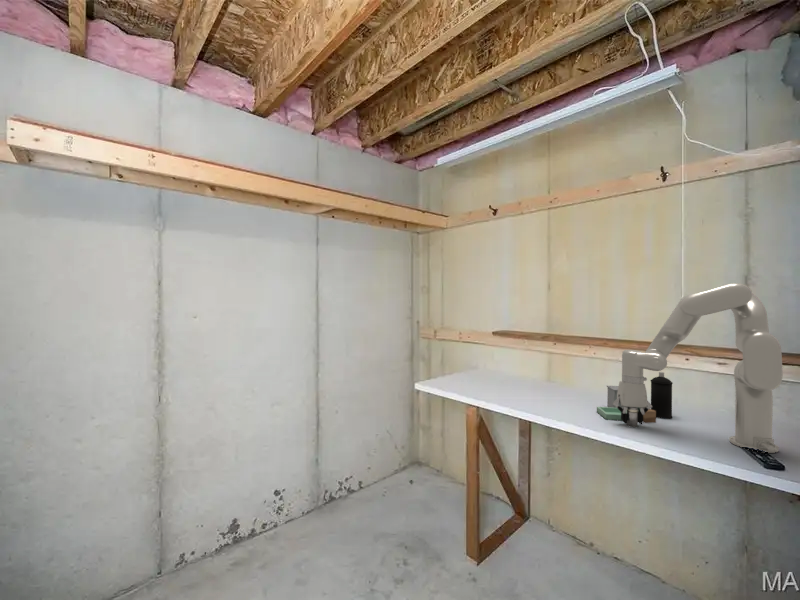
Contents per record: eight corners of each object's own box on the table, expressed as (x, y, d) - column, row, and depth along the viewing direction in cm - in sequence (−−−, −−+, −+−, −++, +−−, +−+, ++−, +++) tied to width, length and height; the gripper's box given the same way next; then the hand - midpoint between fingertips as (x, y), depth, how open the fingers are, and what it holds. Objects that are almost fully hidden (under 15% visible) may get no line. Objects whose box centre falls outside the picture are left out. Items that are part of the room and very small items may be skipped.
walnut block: (655, 422, 151) (655, 411, 151) (645, 422, 150) (645, 411, 150) (646, 418, 156) (646, 407, 156) (636, 419, 155) (636, 407, 155)
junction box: (647, 414, 161) (648, 391, 161) (613, 412, 164) (614, 389, 164) (638, 408, 170) (638, 386, 170) (606, 406, 172) (606, 385, 172)
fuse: (639, 427, 144) (640, 407, 144) (628, 427, 145) (629, 406, 145) (635, 424, 148) (635, 404, 148) (624, 423, 149) (624, 403, 149)
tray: (633, 421, 152) (633, 415, 152) (606, 419, 154) (606, 414, 154) (622, 413, 163) (622, 408, 163) (596, 411, 164) (596, 406, 164)
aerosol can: (676, 419, 154) (676, 374, 154) (655, 418, 156) (656, 373, 156) (666, 413, 162) (666, 371, 162) (646, 412, 164) (646, 370, 164)
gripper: (650, 378, 149) (649, 420, 149) (606, 376, 152) (606, 418, 152) (659, 382, 142) (659, 427, 142) (614, 380, 145) (613, 424, 145)
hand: (632, 422), depth 147 cm, fingers open, 5 cm apart
